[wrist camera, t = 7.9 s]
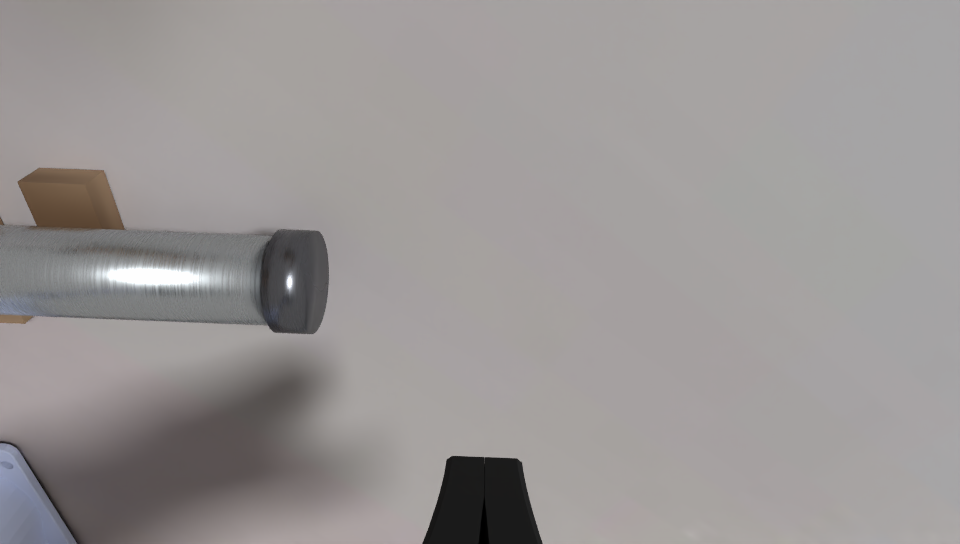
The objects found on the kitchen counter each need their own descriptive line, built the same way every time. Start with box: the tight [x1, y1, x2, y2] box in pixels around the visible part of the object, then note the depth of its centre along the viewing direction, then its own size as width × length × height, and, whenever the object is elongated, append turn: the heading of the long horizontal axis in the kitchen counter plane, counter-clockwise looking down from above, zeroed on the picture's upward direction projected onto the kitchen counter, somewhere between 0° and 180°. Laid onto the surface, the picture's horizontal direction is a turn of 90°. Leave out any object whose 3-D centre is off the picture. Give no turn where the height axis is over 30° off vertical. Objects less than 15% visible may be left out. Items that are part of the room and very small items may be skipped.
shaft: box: [0, 225, 329, 334], centre depth 17 cm, size 3×17×3 cm, turn 88°
